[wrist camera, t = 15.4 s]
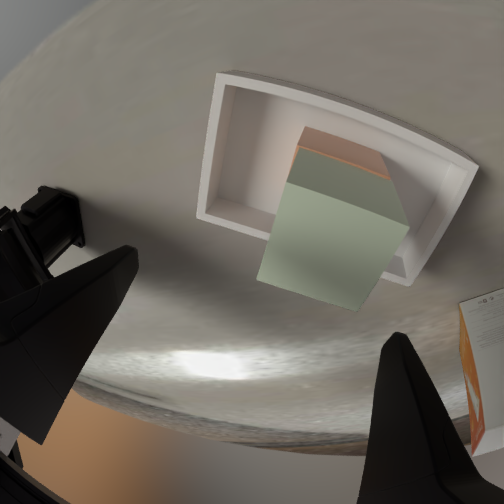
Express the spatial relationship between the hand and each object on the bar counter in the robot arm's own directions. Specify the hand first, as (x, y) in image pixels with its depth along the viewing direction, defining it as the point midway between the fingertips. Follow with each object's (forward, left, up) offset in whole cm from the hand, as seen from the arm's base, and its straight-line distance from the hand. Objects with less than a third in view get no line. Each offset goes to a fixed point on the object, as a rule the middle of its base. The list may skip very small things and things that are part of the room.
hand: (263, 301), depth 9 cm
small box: (-8, -22, -13) cm, 27 cm away
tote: (0, -2, -13) cm, 13 cm away
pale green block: (0, -2, -8) cm, 8 cm away
